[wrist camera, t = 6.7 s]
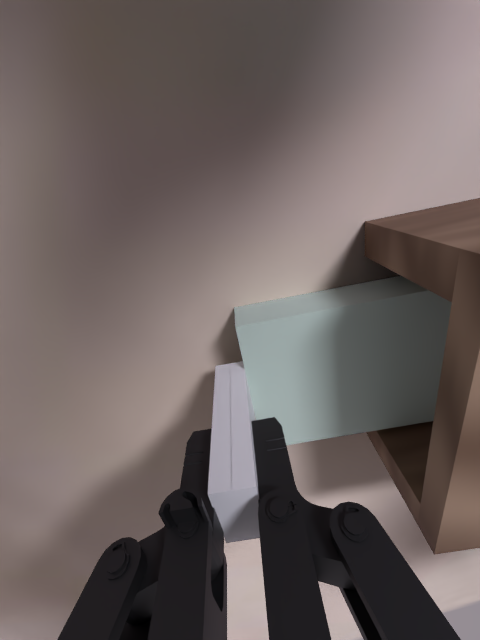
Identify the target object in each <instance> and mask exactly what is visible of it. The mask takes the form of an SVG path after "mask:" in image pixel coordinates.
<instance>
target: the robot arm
mask: <svg viewBox="0 0 480 640" xmlns="http://www.w3.org/2000/svg"><path fill="white" fill-rule="evenodd" d="M159 515H160V517H161V519H162V521H163V522H164V524H165V526H164V527H163V528H162V529H161V530H159V531H158V532H156V533H154V534H152V535H150V536H148V537H147V538H145V539H143V540H141V541H139V542H137V540H135V539H133V538H131V537H128V538H121V539H120V540H118V541H116V542H114V543H113V544H112V545H110V546H109V547H108V548H107V549H106V550H105V552H104V553H103V555H102V556H101V557H100V559H99V561H98V562H97V564H96V566H95V568H94V570H93V572H92V574H91V576H90V578H89V580H88V582H87V584H86V586H85V588H84V589H83V591H82V593H81V595H80V597H79V599H78V601H77V603H76V605H75V607H74V609H73V611H72V613H71V615H70V617H69V618H68V620H67V622H66V624H65V626H64V628H63V630H62V632H61V634H60V636H59V638H58V640H227V563H226V557H225V554H224V538H225V540H226V543H229V542H235V541H242V540H249V539H255V538H260V543H261V554H262V565H263V576H264V587H265V598H266V609H267V620H268V631H269V640H331V637H330V632H329V628H328V623H327V619H326V614H325V610H324V606H323V601H322V597H321V592H320V588H319V584H318V581H320V582H324V583H327V584H330V585H334V586H337V587H339V588H340V591H341V593H342V595H343V597H344V599H345V601H346V603H347V605H348V607H349V609H350V611H351V614H352V616H353V618H354V620H355V622H356V624H357V626H358V628H359V630H360V632H361V635H362V637H363V639H364V640H460V638H459V637H458V635H457V634H456V632H455V631H454V629H453V628H452V626H451V625H450V624H449V622H448V621H447V619H446V618H445V616H444V615H443V614H442V612H441V611H440V609H439V608H438V606H437V605H436V603H435V602H434V601H433V599H432V598H431V596H430V595H429V593H428V592H427V591H426V589H425V588H424V586H423V585H422V583H421V582H420V581H419V579H418V578H417V576H416V575H415V573H414V572H413V570H412V569H411V568H410V566H409V565H408V563H407V562H406V560H405V559H404V558H403V556H402V555H401V553H400V552H399V550H398V549H397V548H396V546H395V545H394V543H393V542H392V540H391V539H390V537H389V536H388V535H387V533H386V532H385V530H384V529H383V527H382V526H381V525H380V523H379V522H378V520H377V519H376V517H375V516H374V515H373V514H372V513H371V512H370V511H369V510H368V509H367V508H365V507H364V506H362V505H360V504H358V503H353V502H345V503H340V504H339V505H338V506H336V507H335V508H334V509H331V508H326V507H321V506H317V505H314V504H312V503H310V502H308V501H306V500H305V499H304V498H303V497H302V496H301V495H300V493H299V492H298V490H297V488H296V485H295V482H294V477H293V473H292V469H291V464H290V460H289V455H288V451H287V447H286V442H285V438H284V433H283V429H282V425H281V424H280V423H279V422H278V420H277V419H276V418H275V417H272V418H266V419H260V420H255V414H254V408H253V404H252V399H251V395H250V390H249V386H248V381H247V377H246V372H245V368H244V364H243V361H241V362H235V363H230V364H224V365H219V366H216V368H215V384H214V400H213V416H212V429H207V430H201V431H195V432H193V433H192V435H191V437H190V439H189V440H188V442H187V447H186V453H185V459H184V467H183V472H182V479H181V485H180V489H178V490H175V491H174V492H172V493H171V494H170V495H169V496H167V498H166V499H165V500H164V502H163V503H162V505H161V508H160V510H159Z"/></svg>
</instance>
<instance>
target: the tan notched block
mask: <svg viewBox="0 0 480 640" xmlns="http://www.w3.org/2000/svg"><path fill="white" fill-rule="evenodd" d="M365 257H367V258H369V259H371V260H373V261H374V262H376V263H378V264H380V265H382V266H384V267H386V268H388V269H390V270H391V271H393V272H395V273H397V274H399V275H401V276H403V277H405V278H406V279H408V280H410V281H412V282H414V283H416V284H418V285H420V286H421V287H423V288H425V289H427V290H429V291H431V292H433V293H435V294H437V295H438V296H440V297H442V298H444V299H446V300H448V301H450V302H452V305H451V311H450V317H449V324H448V330H447V337H446V343H445V350H444V356H443V363H442V369H441V375H440V382H439V388H438V395H437V401H436V408H435V414H434V421H430V422H424V423H418V424H412V425H406V426H400V427H394V428H388V429H382V430H376V431H370V432H366V433H367V434H368V436H369V438H370V440H371V442H372V443H373V445H374V447H375V449H376V451H377V452H378V454H379V456H380V458H381V460H382V461H383V463H384V465H385V467H386V469H387V470H388V472H389V474H390V476H391V478H392V479H393V481H394V483H395V485H396V487H397V488H398V490H399V492H400V494H401V495H402V497H403V499H404V501H405V503H406V504H407V506H408V508H409V510H410V512H411V513H412V515H413V517H414V519H415V521H416V522H417V524H418V526H419V528H420V530H421V531H422V533H423V535H424V537H425V539H426V540H427V542H428V544H429V546H430V548H431V549H432V551H433V553H434V554H440V553H446V552H453V551H460V550H467V549H474V548H480V198H478V199H473V200H468V201H463V202H459V203H454V204H449V205H444V206H439V207H434V208H429V209H425V210H420V211H415V212H410V213H405V214H400V215H395V216H390V217H386V218H381V219H376V220H371V221H366V222H365Z"/></svg>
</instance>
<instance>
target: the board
mask: <svg viewBox="0 0 480 640" xmlns="http://www.w3.org/2000/svg"><path fill="white" fill-rule="evenodd" d="M451 305H452V302H450V301H448V300H446V299H444V298H442V297H440V296H438V295H437V294H435V293H433V292H431V291H429V290H427V289H425V288H423V287H421V286H420V285H418V284H416V283H414V282H412V281H410V280H408V279H406V278H405V277H403V276H396V277H391V278H386V279H381V280H375V281H370V282H365V283H360V284H355V285H349V286H344V287H339V288H334V289H328V290H323V291H318V292H313V293H308V294H302V295H297V296H292V297H287V298H281V299H276V300H271V301H266V302H261V303H255V304H250V305H245V306H240V307H234V313H235V328H236V333H237V337H238V342H239V346H240V350H241V355H242V359H243V364H244V368H245V372H246V377H247V381H248V386H249V390H250V395H251V399H252V404H253V408H254V413H255V417H256V420H260V419H266V418H272V417H275V418H276V419H277V420H278V422H279V423H280V424H281V425H282V429H283V433H284V438H285V442H286V445H291V444H297V443H303V442H309V441H315V440H321V439H327V438H333V437H339V436H345V435H352V434H358V433H364V432H370V431H376V430H382V429H388V428H394V427H400V426H406V425H412V424H418V423H424V422H430V421H434V414H435V408H436V401H437V395H438V388H439V382H440V375H441V369H442V363H443V356H444V350H445V343H446V337H447V330H448V324H449V317H450V311H451Z"/></svg>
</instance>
